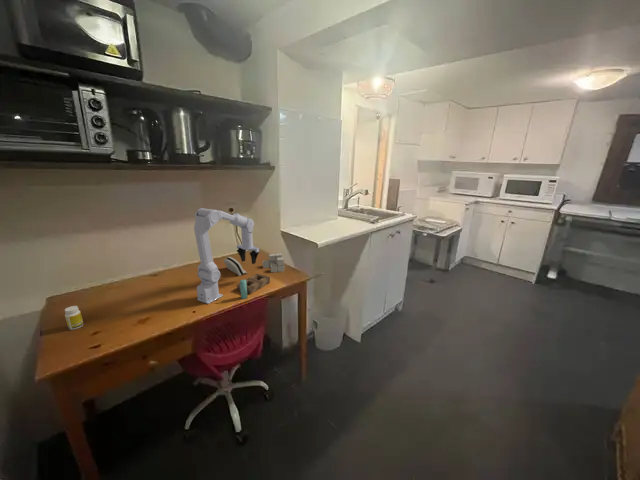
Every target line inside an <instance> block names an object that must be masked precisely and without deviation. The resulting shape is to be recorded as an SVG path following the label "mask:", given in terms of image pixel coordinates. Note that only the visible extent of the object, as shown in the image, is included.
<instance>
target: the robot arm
mask: <svg viewBox="0 0 640 480" xmlns="http://www.w3.org/2000/svg"><path fill="white" fill-rule="evenodd" d="M194 219H195V220H194V225H193V226H194V227H193V231H194V234H195V235H194V236H195V240H196V245H197V250H198V255H199V261H200V264H199V265H197V277H198V278H199V279H200V281H201V282H200V284H198V285H197V286H196V293H197V298H196V300H197V301H199V302H201V303H204V304H208V305H209V304H211V303H212V302H215V301H216V300H219V299H220V298H222V297H223V296H224V295H223V294H221V293H220V292H219V291H220V290H219V280H220V279H221V272H220V270H219V268H218V265H217V264H216V263H215V262H214V258H213V253H212V247H211V242H210V237H209V236H210V235H209V230H210V229H211V228H213V227H214V226H215V225H216V224H217V223H219V222H220V221H222V220H225V221H229V222H230V224H231V225H233V226H237V227H239V228H241V229H240V231H241V244H240V243H239V244H237V245H236V249H237V250H236V252H237V253H238V255H239V258H240V259H241V262H245V261H246V252H247V251H250V252H249V255H250V258H251V264H252V265H255V264H256V262H257V258H258V256H259V253H260V248H259V247H257V246H254V243H253V242H254V241H253V238H254V237H253V232H254V231H253V230H254V226H255V222H254V220H253V219H252V218H249V217H247V216H246V215H241V214H240V213H237V212H236V213H232V214H231V213H228V212H225V211H223V210H219V209H210V208H204V207H201V208H199V209H198V210H196V212H195V213H194Z"/></svg>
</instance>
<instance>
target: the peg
mask: <svg viewBox="0 0 640 480" xmlns="http://www.w3.org/2000/svg"><path fill="white" fill-rule="evenodd" d="M239 283H240V290H241V291H240V298H241V300H246V299H248V293H247V285H246V279H241V280H239Z"/></svg>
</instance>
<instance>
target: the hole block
mask: <svg viewBox="0 0 640 480" xmlns="http://www.w3.org/2000/svg"><path fill="white" fill-rule="evenodd" d="M245 280H246V285H247V295H251V294H253V293H255V292H257V291H258V290H260V289H262V288H264V287H265V286H267V285H268V284H270V283H271V276H268V275H264V274H261V273H255V274H254V275H252V276H250V277H248V278H246V279H245ZM236 290H237V291H239V292H241V290H240V282H238V283H237V284H236Z"/></svg>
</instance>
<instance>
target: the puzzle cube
mask: <svg viewBox="0 0 640 480" xmlns="http://www.w3.org/2000/svg"><path fill="white" fill-rule="evenodd" d="M262 268H263V269H267V268H270V273H278V272H280V273H281V272H285V259H284V256H283V254H282V252H280V253H268V259H266V260H262Z"/></svg>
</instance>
